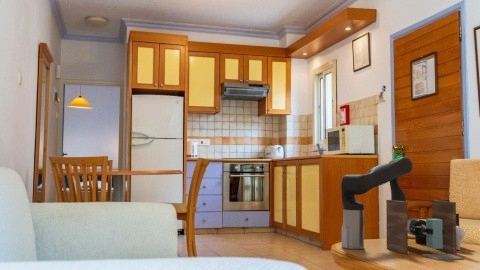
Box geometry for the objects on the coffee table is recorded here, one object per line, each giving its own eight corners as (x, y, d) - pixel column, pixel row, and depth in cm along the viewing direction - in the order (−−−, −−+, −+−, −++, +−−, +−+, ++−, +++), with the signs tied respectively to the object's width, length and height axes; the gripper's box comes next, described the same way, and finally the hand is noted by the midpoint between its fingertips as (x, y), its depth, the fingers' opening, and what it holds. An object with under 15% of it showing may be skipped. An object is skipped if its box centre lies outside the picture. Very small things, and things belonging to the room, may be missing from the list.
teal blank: (432, 248, 212) (432, 219, 212) (426, 247, 216) (426, 218, 217) (442, 248, 212) (442, 219, 213) (435, 246, 217) (435, 218, 218)
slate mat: (436, 260, 200) (436, 258, 200) (421, 255, 211) (421, 254, 211) (463, 259, 203) (463, 258, 203) (447, 255, 213) (447, 253, 213)
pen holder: (415, 243, 249) (415, 223, 250) (413, 241, 258) (413, 221, 259) (436, 244, 247) (435, 224, 248) (433, 242, 256) (433, 222, 257)
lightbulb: (464, 250, 230) (463, 225, 231) (465, 252, 224) (465, 226, 225) (449, 249, 232) (448, 224, 233) (450, 251, 226) (449, 226, 227)
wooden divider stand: (404, 254, 214) (404, 201, 216) (386, 248, 230) (386, 199, 232) (456, 253, 219) (455, 202, 221) (435, 248, 235) (434, 200, 237)
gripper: (401, 219, 228) (422, 222, 211) (430, 219, 231) (453, 222, 214) (401, 235, 227) (422, 241, 211) (430, 235, 230) (453, 240, 213)
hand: (437, 231), depth 212 cm, fingers closed on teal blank, 4 cm apart
